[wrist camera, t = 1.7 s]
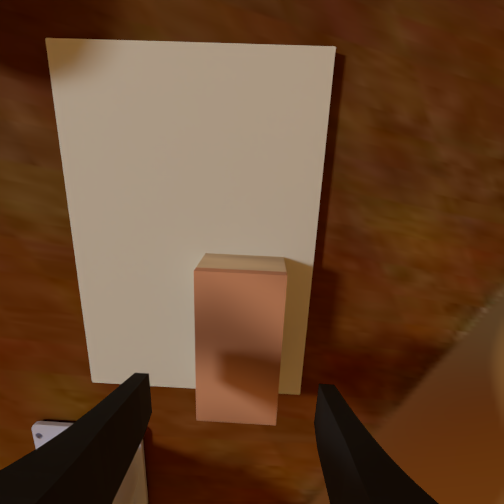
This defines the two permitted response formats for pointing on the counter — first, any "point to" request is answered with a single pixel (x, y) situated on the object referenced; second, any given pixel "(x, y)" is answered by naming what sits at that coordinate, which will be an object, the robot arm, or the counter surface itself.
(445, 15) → the counter surface
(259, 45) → the mat
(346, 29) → the counter surface
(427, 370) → the counter surface
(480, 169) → the counter surface
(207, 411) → the pink and beige box
